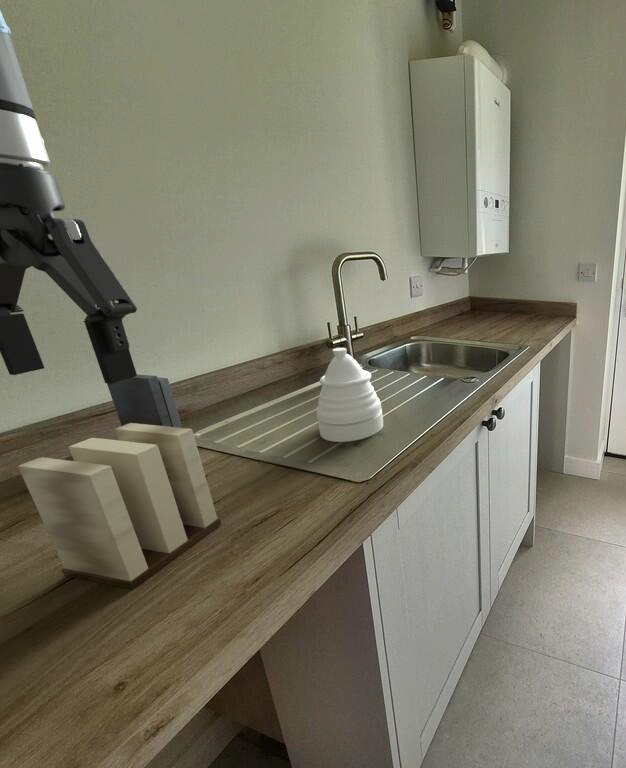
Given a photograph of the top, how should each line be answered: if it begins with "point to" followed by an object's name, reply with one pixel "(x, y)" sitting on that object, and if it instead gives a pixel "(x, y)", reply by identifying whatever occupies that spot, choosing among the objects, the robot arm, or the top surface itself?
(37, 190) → the robot arm
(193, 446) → the cream book stand
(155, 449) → the cream book
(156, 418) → the grey book stand
